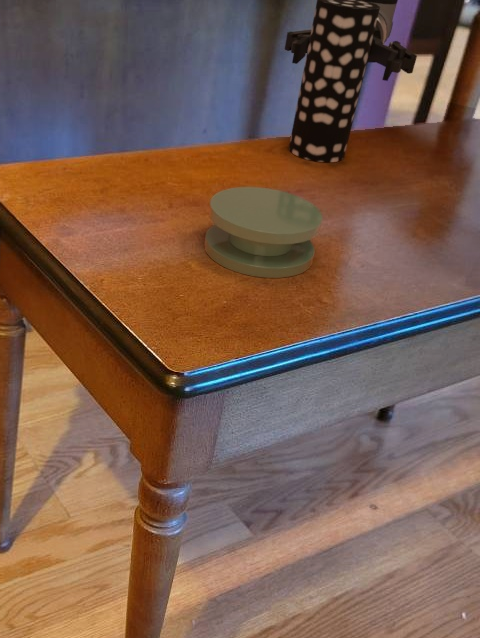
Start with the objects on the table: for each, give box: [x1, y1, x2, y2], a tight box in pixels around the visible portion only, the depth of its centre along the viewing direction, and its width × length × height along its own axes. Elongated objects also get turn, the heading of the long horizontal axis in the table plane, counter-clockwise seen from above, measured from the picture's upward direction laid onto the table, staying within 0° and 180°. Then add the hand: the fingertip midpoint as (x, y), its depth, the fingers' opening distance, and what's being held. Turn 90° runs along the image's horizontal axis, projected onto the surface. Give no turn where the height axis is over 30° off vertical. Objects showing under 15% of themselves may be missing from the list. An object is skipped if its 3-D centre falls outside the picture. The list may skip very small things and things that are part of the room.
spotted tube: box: [288, 0, 380, 163], centre depth 104 cm, size 8×8×20 cm
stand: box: [203, 186, 324, 279], centre depth 80 cm, size 12×12×5 cm
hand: (341, 62), depth 109 cm, fingers open, 13 cm apart
